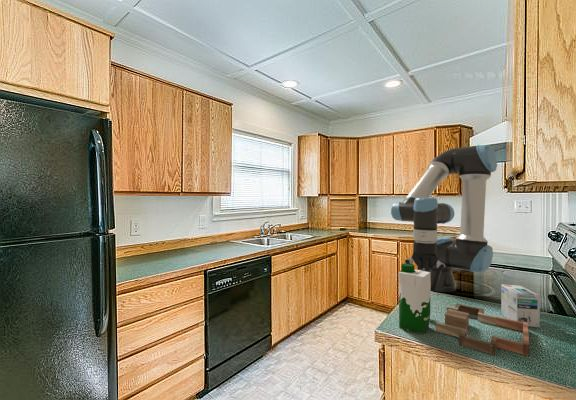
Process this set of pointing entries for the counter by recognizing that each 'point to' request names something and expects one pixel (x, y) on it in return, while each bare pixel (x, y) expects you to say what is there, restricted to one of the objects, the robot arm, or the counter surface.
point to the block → (457, 318)
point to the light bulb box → (520, 304)
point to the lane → (501, 343)
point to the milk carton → (414, 298)
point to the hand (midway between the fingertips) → (423, 308)
